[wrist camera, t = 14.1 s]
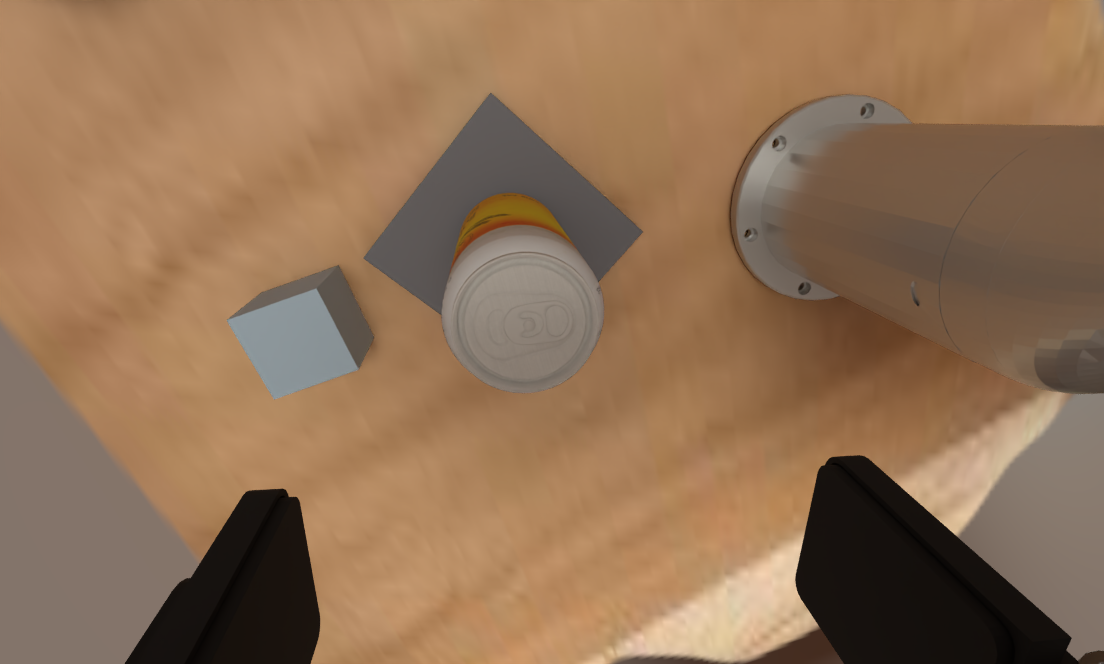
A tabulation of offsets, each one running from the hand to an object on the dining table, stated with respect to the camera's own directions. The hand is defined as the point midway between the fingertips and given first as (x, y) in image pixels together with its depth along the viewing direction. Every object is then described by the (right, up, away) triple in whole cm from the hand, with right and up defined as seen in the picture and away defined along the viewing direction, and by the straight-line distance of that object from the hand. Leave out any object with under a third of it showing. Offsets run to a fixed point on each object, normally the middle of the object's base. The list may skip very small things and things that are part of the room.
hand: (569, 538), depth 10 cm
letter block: (-15, +5, +25) cm, 29 cm away
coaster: (-3, +9, +24) cm, 26 cm away
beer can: (-3, +9, +24) cm, 26 cm away
